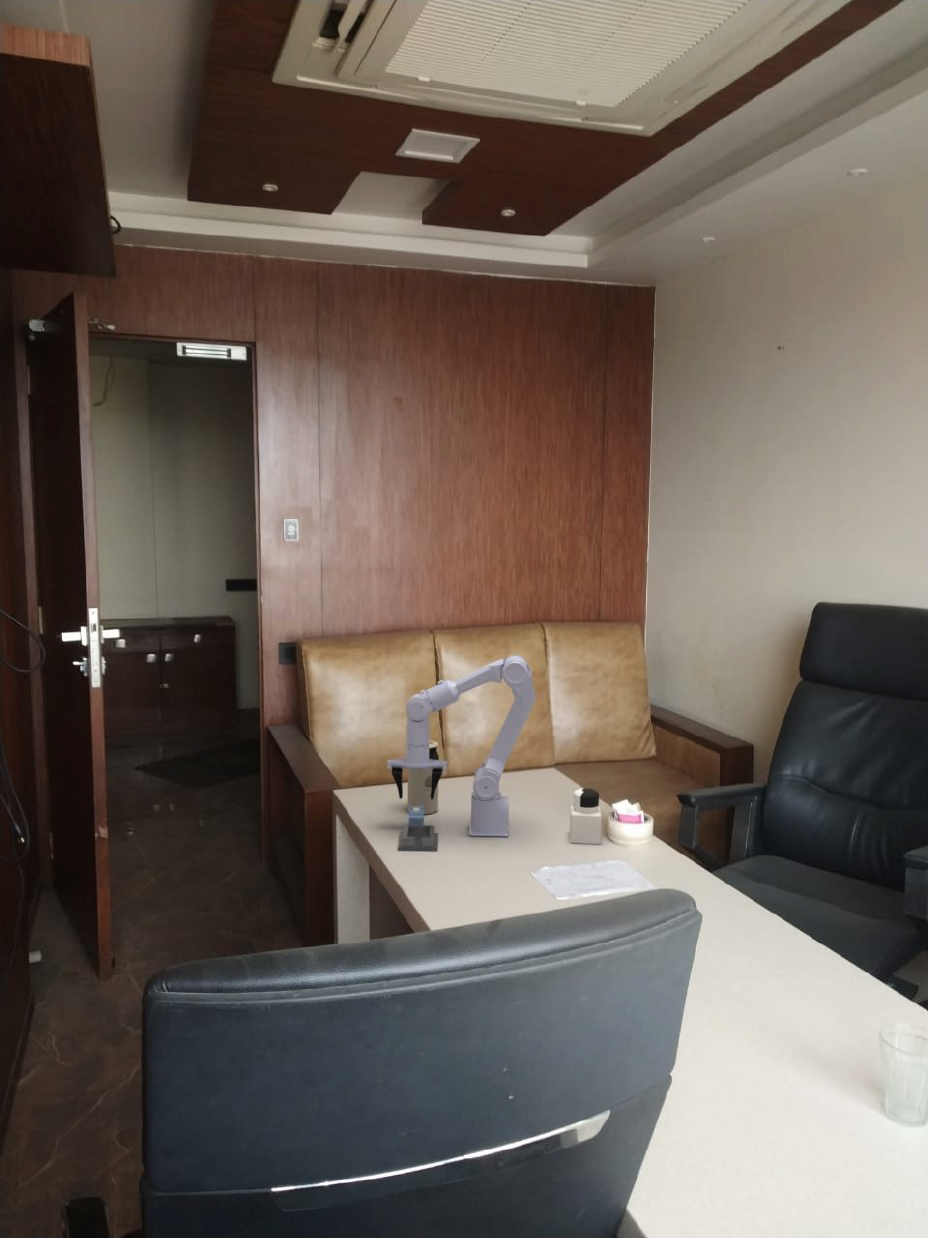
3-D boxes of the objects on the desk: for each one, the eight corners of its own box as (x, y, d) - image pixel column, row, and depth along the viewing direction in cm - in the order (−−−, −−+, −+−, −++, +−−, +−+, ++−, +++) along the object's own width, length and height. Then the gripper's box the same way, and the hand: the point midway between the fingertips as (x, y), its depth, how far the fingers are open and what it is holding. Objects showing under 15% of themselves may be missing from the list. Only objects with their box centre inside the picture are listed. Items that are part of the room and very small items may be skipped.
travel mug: (402, 807, 232) (403, 741, 230) (430, 804, 236) (431, 738, 234) (414, 816, 225) (415, 748, 223) (442, 813, 228) (443, 745, 227)
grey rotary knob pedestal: (598, 834, 215) (600, 787, 214) (600, 845, 208) (602, 796, 207) (569, 833, 216) (571, 785, 215) (570, 843, 209) (572, 794, 207)
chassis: (438, 836, 212) (438, 824, 211) (437, 851, 202) (437, 839, 201) (400, 835, 211) (401, 824, 211) (398, 850, 201) (398, 838, 201)
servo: (424, 824, 220) (424, 801, 220) (423, 834, 213) (423, 811, 212) (409, 823, 220) (410, 801, 219) (408, 834, 213) (408, 810, 212)
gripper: (447, 740, 218) (446, 793, 220) (389, 739, 218) (388, 792, 219) (447, 747, 211) (445, 802, 213) (387, 746, 211) (386, 800, 212)
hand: (416, 797), depth 216 cm, fingers open, 7 cm apart
